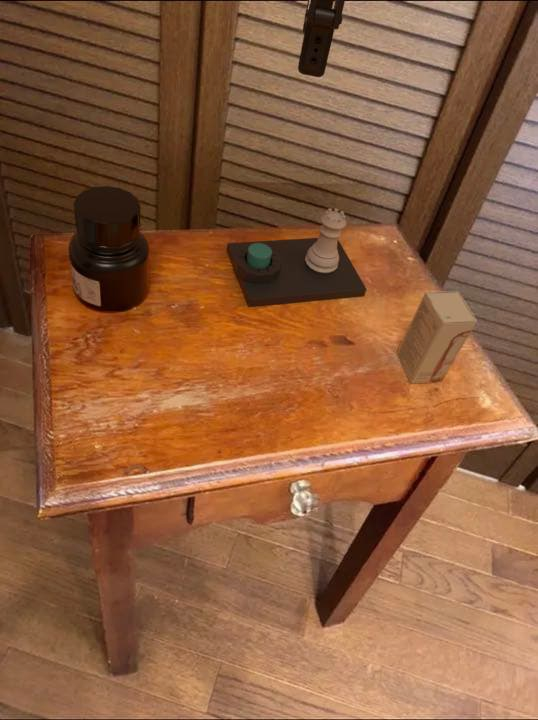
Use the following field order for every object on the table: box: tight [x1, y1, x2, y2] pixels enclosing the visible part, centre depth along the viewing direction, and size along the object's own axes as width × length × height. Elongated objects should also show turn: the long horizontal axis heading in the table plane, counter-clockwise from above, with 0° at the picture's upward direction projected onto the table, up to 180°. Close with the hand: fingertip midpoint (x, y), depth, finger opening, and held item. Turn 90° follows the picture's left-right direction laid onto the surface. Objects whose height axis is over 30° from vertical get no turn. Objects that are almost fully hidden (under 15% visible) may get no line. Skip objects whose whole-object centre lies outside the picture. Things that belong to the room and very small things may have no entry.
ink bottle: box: [68, 185, 150, 313], centre depth 66 cm, size 10×9×12 cm
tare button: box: [247, 243, 272, 269], centre depth 74 cm, size 3×3×2 cm
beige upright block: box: [396, 291, 478, 384], centre depth 67 cm, size 5×4×10 cm
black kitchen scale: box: [226, 237, 367, 308], centre depth 77 cm, size 16×11×3 cm, turn 107°
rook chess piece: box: [305, 208, 347, 274], centre depth 75 cm, size 4×4×8 cm
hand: (312, 53), depth 51 cm, fingers open, 8 cm apart
